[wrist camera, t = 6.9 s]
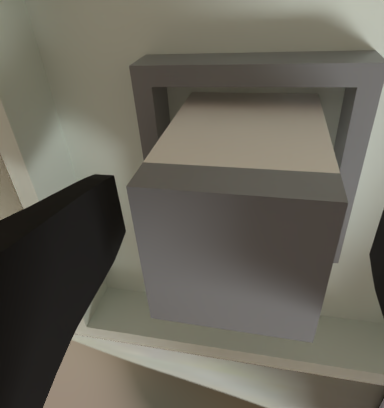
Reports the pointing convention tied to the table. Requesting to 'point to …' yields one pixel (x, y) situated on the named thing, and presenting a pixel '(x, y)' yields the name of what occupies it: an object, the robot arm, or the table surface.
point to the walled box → (163, 115)
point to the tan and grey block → (240, 214)
